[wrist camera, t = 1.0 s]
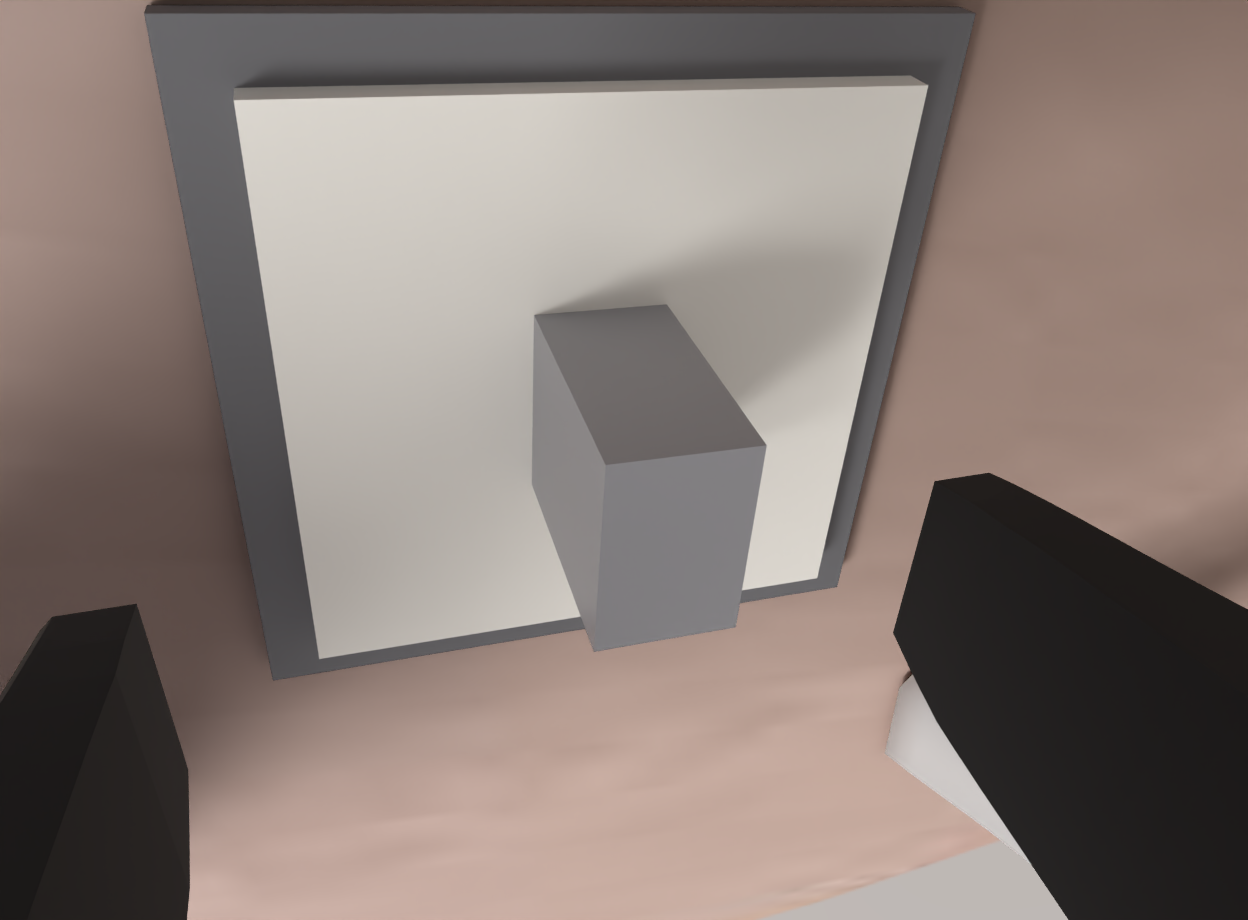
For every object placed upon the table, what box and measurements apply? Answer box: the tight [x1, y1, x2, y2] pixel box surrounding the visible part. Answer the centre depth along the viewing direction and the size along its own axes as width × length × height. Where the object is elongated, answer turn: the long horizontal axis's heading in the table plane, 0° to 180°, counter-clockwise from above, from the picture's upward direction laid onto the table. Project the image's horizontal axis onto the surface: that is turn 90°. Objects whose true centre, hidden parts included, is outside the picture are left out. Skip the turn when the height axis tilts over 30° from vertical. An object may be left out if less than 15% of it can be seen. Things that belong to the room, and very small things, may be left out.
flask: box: [885, 674, 1031, 864], centre depth 26 cm, size 7×7×10 cm
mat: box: [144, 5, 976, 680], centre depth 20 cm, size 13×13×1 cm
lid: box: [234, 75, 928, 659], centre depth 17 cm, size 11×11×5 cm
